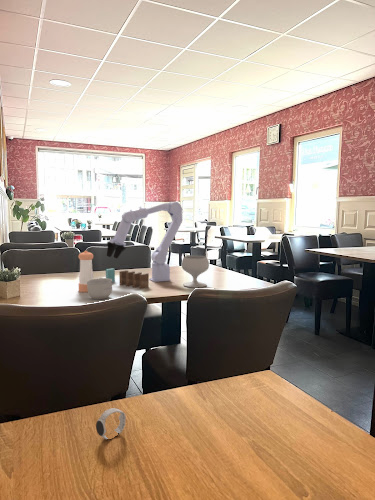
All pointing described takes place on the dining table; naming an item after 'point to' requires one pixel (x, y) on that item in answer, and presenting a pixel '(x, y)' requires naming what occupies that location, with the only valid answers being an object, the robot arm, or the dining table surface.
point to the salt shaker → (85, 270)
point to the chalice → (195, 269)
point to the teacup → (99, 288)
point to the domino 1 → (110, 274)
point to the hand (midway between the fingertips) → (112, 257)
